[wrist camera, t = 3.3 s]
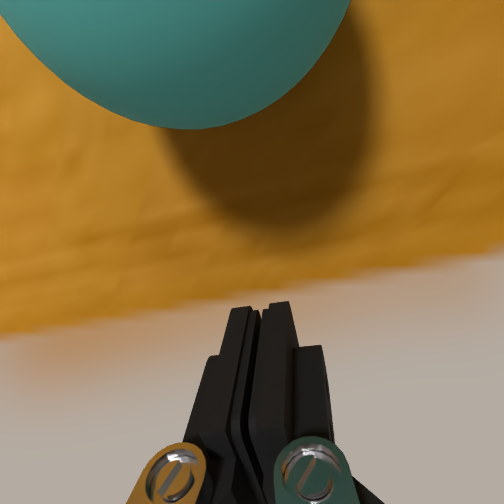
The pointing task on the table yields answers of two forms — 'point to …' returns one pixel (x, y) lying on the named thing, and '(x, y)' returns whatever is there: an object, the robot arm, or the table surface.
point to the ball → (178, 52)
